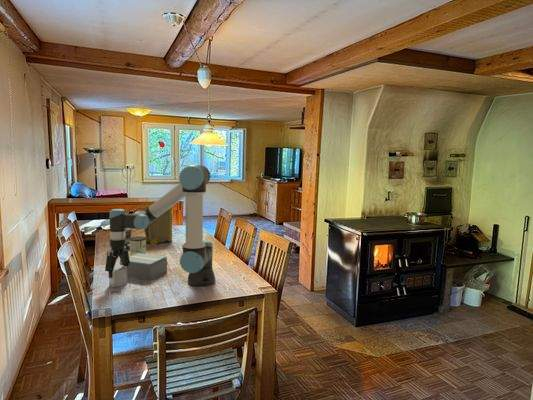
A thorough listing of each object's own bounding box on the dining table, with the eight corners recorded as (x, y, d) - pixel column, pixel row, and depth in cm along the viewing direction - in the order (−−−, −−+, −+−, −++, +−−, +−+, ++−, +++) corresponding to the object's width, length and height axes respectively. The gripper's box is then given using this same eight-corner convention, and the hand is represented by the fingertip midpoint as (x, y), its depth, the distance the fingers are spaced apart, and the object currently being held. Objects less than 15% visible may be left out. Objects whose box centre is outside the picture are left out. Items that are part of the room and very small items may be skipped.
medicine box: (123, 282, 194) (122, 266, 193) (127, 284, 191) (127, 268, 190) (108, 285, 187) (108, 269, 187) (113, 287, 185) (112, 271, 184)
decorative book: (166, 239, 297) (166, 203, 294) (173, 241, 289) (173, 205, 286) (143, 242, 283) (143, 205, 279) (150, 245, 275) (150, 206, 272)
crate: (166, 271, 214) (166, 258, 213) (150, 280, 198) (150, 266, 197) (141, 268, 219) (141, 255, 218) (123, 276, 203) (123, 262, 203)
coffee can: (131, 256, 243) (131, 236, 242) (147, 256, 245) (147, 236, 244) (128, 260, 233) (128, 239, 232) (144, 260, 235) (144, 239, 233)
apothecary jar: (113, 247, 265) (112, 223, 263) (129, 245, 273) (129, 222, 271) (118, 250, 256) (118, 226, 254) (135, 248, 264) (135, 224, 262)
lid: (166, 261, 213) (166, 256, 213) (149, 269, 198) (149, 263, 197) (138, 257, 219) (138, 252, 218) (119, 265, 203) (119, 259, 203)
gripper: (125, 234, 198) (125, 273, 200) (96, 242, 177) (97, 286, 180) (136, 235, 195) (137, 275, 198) (108, 243, 175) (109, 288, 178)
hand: (118, 280), depth 189 cm, fingers closed on medicine box, 9 cm apart
